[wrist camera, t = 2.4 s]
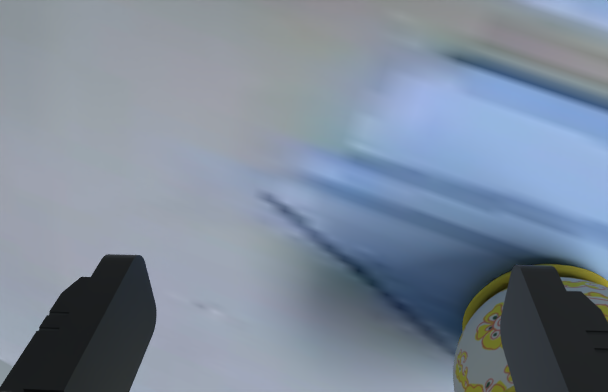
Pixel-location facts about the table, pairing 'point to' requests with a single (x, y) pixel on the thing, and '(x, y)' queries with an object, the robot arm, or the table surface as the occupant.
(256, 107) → the table surface
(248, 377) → the table surface
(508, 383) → the flowerpot
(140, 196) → the table surface
